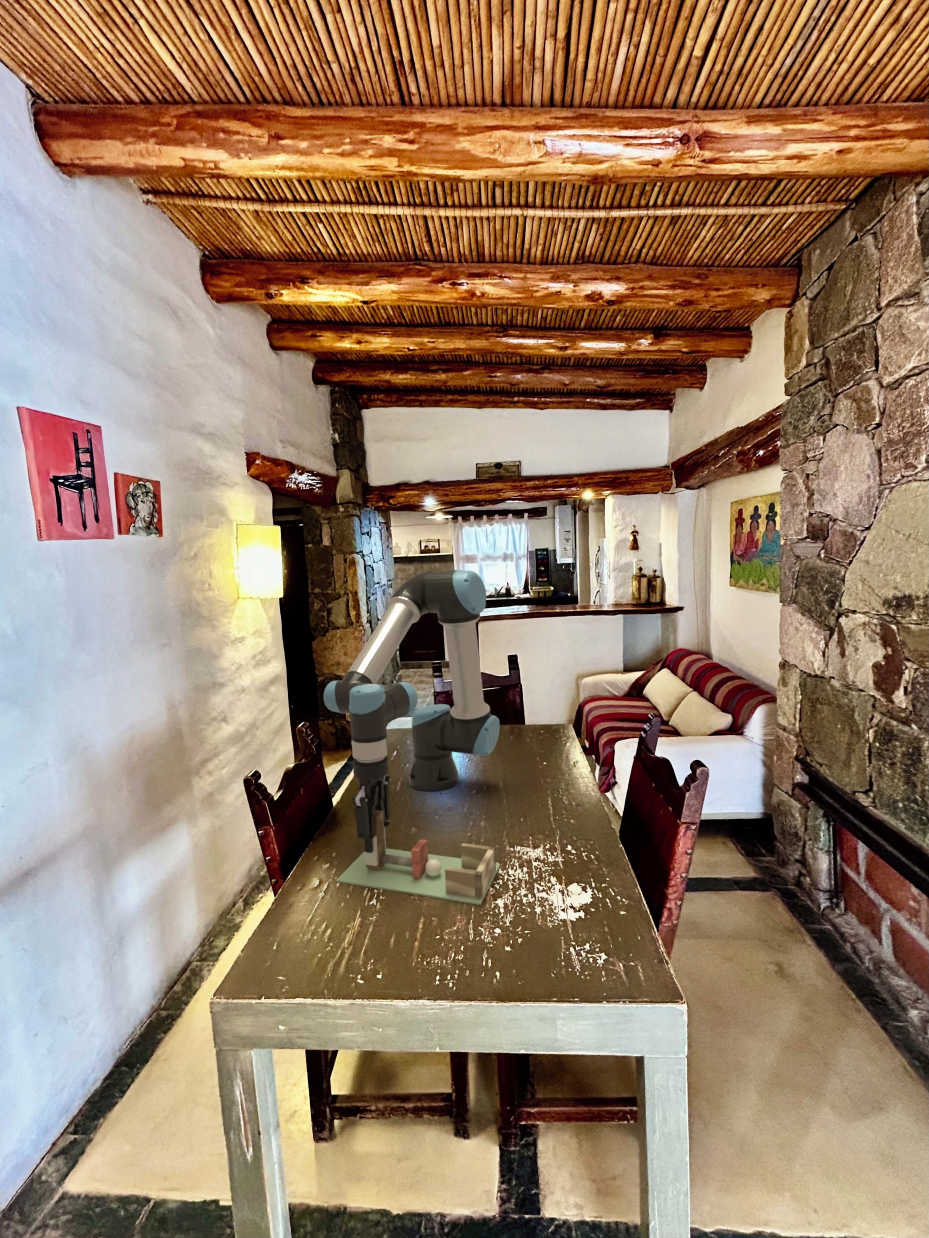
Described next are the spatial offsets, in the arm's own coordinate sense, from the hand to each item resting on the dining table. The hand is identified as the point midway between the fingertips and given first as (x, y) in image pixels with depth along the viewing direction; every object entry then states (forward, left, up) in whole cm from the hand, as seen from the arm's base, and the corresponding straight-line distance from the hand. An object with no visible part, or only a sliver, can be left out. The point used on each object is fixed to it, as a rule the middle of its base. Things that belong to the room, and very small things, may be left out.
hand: (376, 859), depth 129 cm
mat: (0, +10, -2) cm, 10 cm away
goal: (0, +22, -2) cm, 22 cm away
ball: (0, +14, 0) cm, 14 cm away
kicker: (0, +5, -1) cm, 5 cm away
